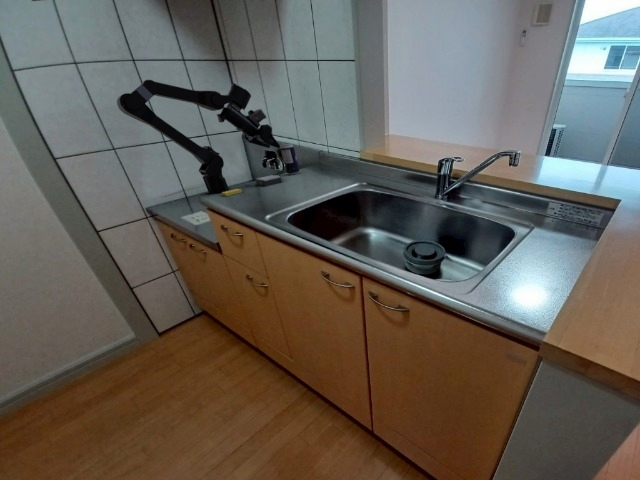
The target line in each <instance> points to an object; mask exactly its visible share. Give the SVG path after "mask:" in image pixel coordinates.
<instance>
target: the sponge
mask: <svg viewBox="0 0 640 480" xmlns="http://www.w3.org/2000/svg"><path fill="white" fill-rule="evenodd" d="M242 193H243V190H242V189H241V188H235V189H229V190H226V191H224V192H221V195H222V196H224V197H229V196H232V195H237V194H242Z"/></svg>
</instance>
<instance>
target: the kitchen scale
mask: <svg viewBox="0 0 640 480" xmlns="http://www.w3.org/2000/svg"><path fill="white" fill-rule="evenodd" d="M255 181H256V185H257V186H261V187H269V186H272V185H276V184H280V183H283V180H282V178H281V176H280V175H275V174H271V175H266V176H262V177H257V178H255Z"/></svg>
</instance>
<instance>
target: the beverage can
mask: <svg viewBox="0 0 640 480" xmlns="http://www.w3.org/2000/svg"><path fill="white" fill-rule="evenodd" d="M279 145H280V148H279V149H280V152H281V156H282V160H283V163H284V167H285V171H286V174H288V175H290V176H292V175H293V176H294V175H297V174H299V173H300V170H301V169H300V166H299V163H298V158H297V155H296V151H295V146H294V145H293V143H284V144H279Z"/></svg>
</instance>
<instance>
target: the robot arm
mask: <svg viewBox="0 0 640 480" xmlns="http://www.w3.org/2000/svg"><path fill="white" fill-rule="evenodd" d="M153 97H161V98H166V99H169V100H175V101H180V102H185V103H189V104H193V105H196V106H198V107H200V108H203V109H206V110H208V111H211V112H216V111H220V113H217V114H216V116H217V120H218V122H219V123H224V122H225V121H226V122H228V123H229V124H231V125H232V126H233V127H235V130H237V131H238V132H241V133H242V134H241V139H242V140H243V141H244V142H246V143H248V144H253V145H256V146H260V147H263V148H267V149H270V148H271V147H273V148H276V149H280V148H281V146H280V145H281V144H279V143H278V141H277V140H276V138H275V137H274V136H273V134H272V133H273V127H272V126H270V125H269V124H268V123H267V124H261V122H262V121H263V120H265V119H267V116H266V113H264V111H263V110H262V109H261V108H260V109H256V110H253V109H250V110H248V111H247V115H245V114H244V113H243V112H241V111H242V110H243V111H245V110H246V108H247V106H248V105H249V102H250V100H251V98H252V94H251V93H250V92H249V90H247V89H246V88H243V87H242V86H240V85H237V83H232V84H231V86H230V89H229V91H228V93H227V94H226V95H225V94H221V93H220V92H218V91H217V90H195V89H190V88H185V87H180V86H176V85H171V84H169V83H168V84H167V83H162V82H160V81H159V82H158V81H155V80H153V79H145V80H143V81H142V82H141V84H140V85H139V86H138V87H137V88H135V89H134V90H133V91H132V92H126V93H123V94H121V95H119V96H118V97H117V100H116V105H117V107H118V109H119V111H120V112H121V113H123V114H124V115H126V116H129V117H131V118H132V119H134V120H136V121H138V122H141V123H143V124H145V125H148V126H149V127H151V128H152V129H154V130H156V132H158V133H160V134H161V135H163V136H164V137H166V138H167V139H169V140H170V141H172V142H173V143H175V144H176V145H178V146H180V148H182V149H183V150H185V151H186V152H188V153H190V154H191V155H192V156H193V158H195V160H197V161H198V162H199V163H200V167H199V169H198V172H199V173H200V175H201V176H202V180H203V182H204V185H205V187H206V189H207V192H206V195H212V194H220V193H221V194H222V192H226V191H229V190H231V189H230V187H229V186H228V183H227V180H226V178H225V177H224V175H223V168H224V165H225V162H224V159H223V157H222V156H221V155H220V152H217V151H216V150H214V148H212V147H211V146H210V145H203V146H201V145H200V144H198V143H196V142H195V141H194V140H192V139H191V138H189V137H188V136H186V135H185V134H183V133H182V132H181V131H180V130H178V129H176V128H175V127H173V126H172V125H171V124H169V123H168V122H167V121H165V120H164V119H162V118H161V117H159V116H158V115H157V114H156V113H155V112H154V111H153V110H152V109H151V108H150V106H149V105H147V103H148V102H149V101H150V100H151V99H152V98H153Z"/></svg>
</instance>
